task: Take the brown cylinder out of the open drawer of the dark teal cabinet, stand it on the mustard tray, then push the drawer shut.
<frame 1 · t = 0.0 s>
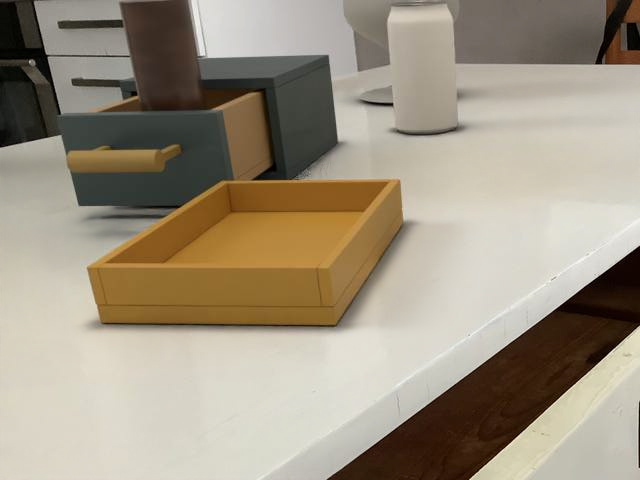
chalice: (408, 99, 106), on the table
brown cylinder: (186, 171, 64), point 2 cm above the table, touching drawer
can: (427, 130, 87), on the table
cabinet: (247, 161, 76), on the table
drawer: (176, 145, 63), point 4 cm above the table, slide at 9.0 cm, touching brown cylinder
tray: (273, 266, 49), on the table
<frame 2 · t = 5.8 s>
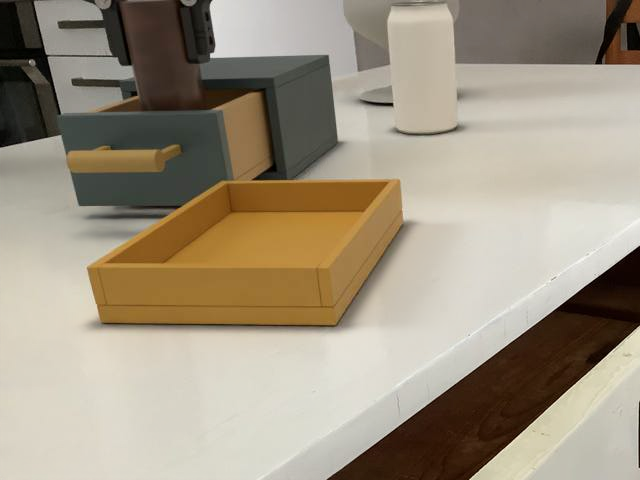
hand: (165, 62, 61), 10 cm above the table, tool pointing down, fingers closed on brown cylinder, 4 cm apart
brown cylinder: (186, 171, 64), point 2 cm above the table, touching drawer, gripper
everything else where it was.
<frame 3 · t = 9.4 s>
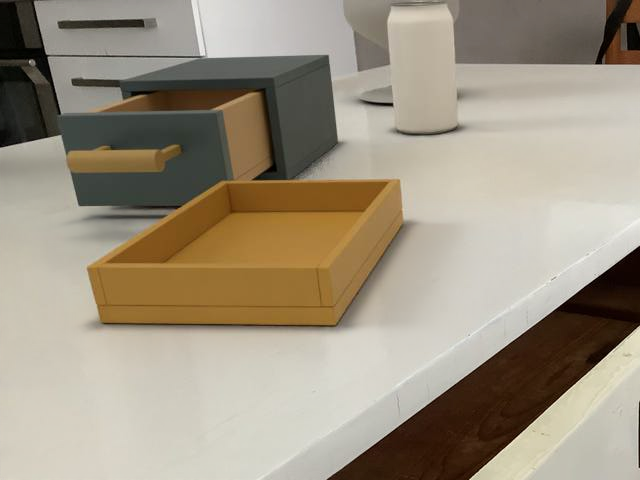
drawer: (176, 145, 63), point 4 cm above the table, slide at 9.0 cm
when the fingers open (9 cm above the table, at t = 13.2 s): brown cylinder stays where it is, resting on tray.
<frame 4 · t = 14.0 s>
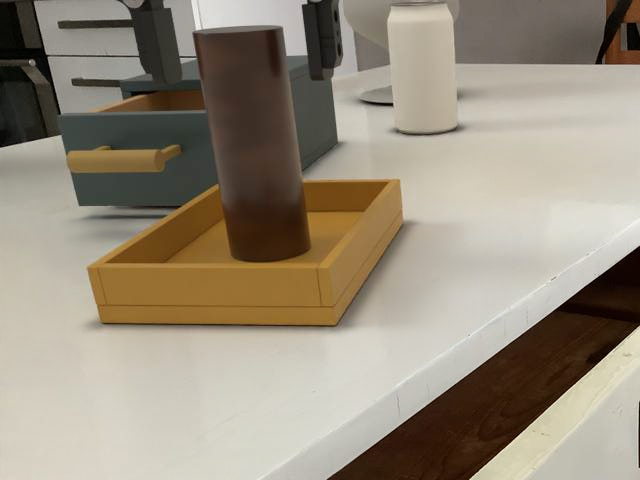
hand: (244, 81, 45), 10 cm above the table, tool pointing down, fingers open, 8 cm apart
brown cylinder: (271, 249, 49), point 1 cm above the table, touching tray
everything else where it was.
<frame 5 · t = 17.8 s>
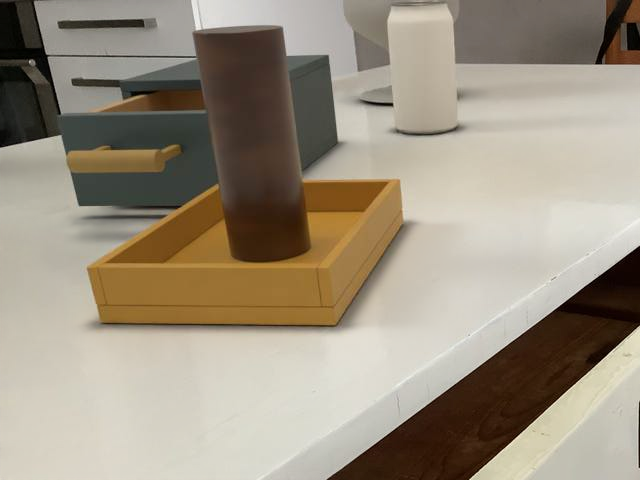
nothing on the table moved.
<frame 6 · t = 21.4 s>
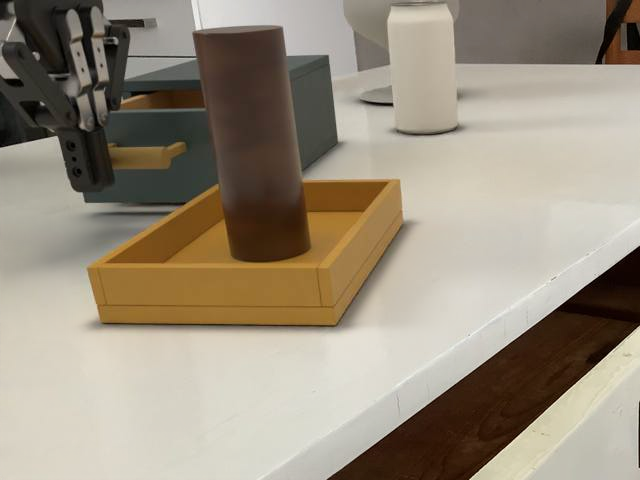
hand: (94, 189, 54), 3 cm above the table, tool pointing down, fingers closed
drawer: (181, 143, 63), point 4 cm above the table, slide at 8.1 cm, touching gripper
everything else where it was.
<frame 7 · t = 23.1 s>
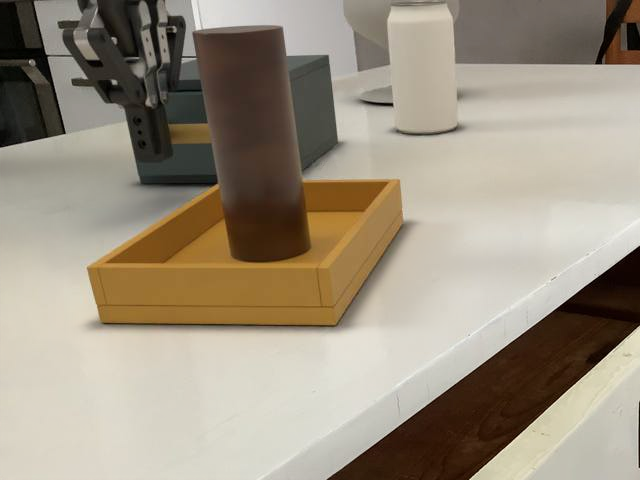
hand: (155, 160, 61), 3 cm above the table, tool pointing down, fingers closed
drawer: (223, 123, 71), point 4 cm above the table, slide at 0.0 cm, touching cabinet, gripper
everything else where it was.
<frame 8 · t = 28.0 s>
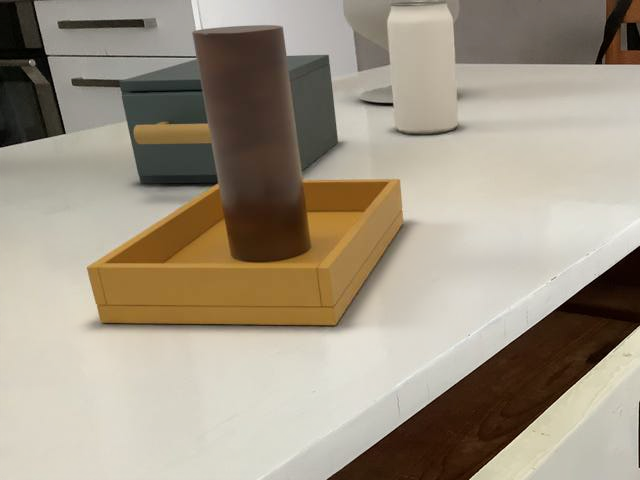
drawer: (223, 123, 71), point 4 cm above the table, slide at 0.0 cm, touching cabinet
everything else where it was.
at the end: brown cylinder inside the target area in the tray (0.1 cm from its centre), point 1.0 cm above the tray's base; brown cylinder tilted 0°; drawer slide at 0.0 cm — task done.
